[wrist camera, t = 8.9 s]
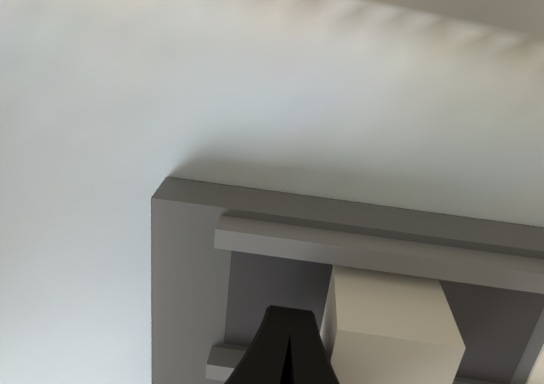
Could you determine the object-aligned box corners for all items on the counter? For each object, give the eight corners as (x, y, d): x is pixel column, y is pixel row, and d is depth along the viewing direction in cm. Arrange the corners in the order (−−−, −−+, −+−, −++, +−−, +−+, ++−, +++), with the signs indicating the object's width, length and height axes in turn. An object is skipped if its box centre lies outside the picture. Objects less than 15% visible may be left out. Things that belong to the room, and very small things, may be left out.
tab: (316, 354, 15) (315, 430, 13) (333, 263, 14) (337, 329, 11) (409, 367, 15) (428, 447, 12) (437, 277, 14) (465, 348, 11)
